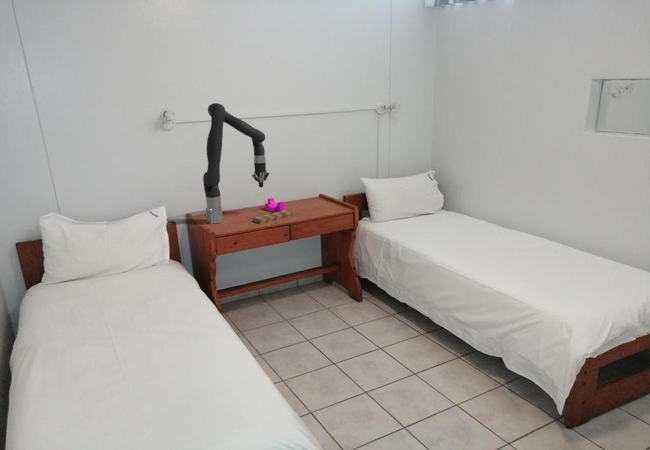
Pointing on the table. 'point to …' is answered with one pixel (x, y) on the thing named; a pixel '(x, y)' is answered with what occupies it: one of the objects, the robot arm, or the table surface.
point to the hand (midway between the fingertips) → (261, 187)
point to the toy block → (274, 206)
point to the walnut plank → (272, 217)
